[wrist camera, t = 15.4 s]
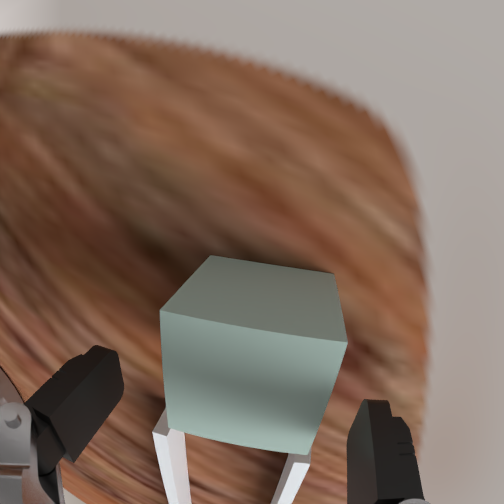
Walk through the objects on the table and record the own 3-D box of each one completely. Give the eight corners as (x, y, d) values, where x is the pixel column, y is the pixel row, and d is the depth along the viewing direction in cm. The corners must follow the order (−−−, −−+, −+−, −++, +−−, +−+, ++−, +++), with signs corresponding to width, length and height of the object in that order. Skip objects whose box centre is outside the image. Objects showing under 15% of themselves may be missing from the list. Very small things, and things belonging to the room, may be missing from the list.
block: (206, 353, 14) (168, 427, 10) (211, 254, 13) (159, 310, 8) (310, 371, 14) (307, 455, 9) (333, 272, 12) (347, 342, 8)
